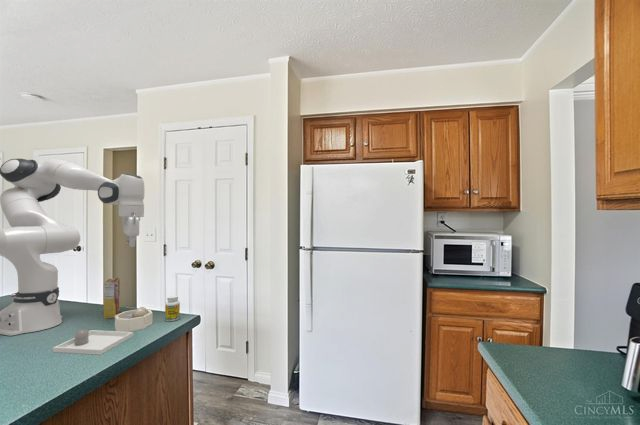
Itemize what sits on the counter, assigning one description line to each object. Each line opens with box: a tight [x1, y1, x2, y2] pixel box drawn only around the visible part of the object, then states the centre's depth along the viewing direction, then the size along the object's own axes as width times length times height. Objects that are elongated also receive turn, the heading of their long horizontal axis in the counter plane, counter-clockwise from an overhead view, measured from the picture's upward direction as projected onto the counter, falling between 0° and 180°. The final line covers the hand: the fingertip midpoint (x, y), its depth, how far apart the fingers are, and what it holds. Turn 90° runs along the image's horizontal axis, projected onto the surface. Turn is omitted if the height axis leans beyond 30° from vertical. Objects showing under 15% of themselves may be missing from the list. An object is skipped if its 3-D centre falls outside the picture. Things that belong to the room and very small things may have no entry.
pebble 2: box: [132, 306, 148, 318], centre depth 113 cm, size 4×4×4 cm
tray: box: [52, 329, 134, 356], centre depth 97 cm, size 16×14×2 cm
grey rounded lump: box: [125, 313, 133, 319], centre depth 114 cm, size 4×4×4 cm
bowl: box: [114, 308, 153, 332], centre depth 113 cm, size 12×12×5 cm
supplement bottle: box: [164, 294, 181, 322], centre depth 122 cm, size 5×5×10 cm
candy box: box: [103, 277, 121, 320], centre depth 126 cm, size 9×4×15 cm, turn 23°
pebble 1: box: [74, 328, 90, 346], centre depth 97 cm, size 4×4×4 cm
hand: (130, 245), depth 121 cm, fingers open, 8 cm apart
